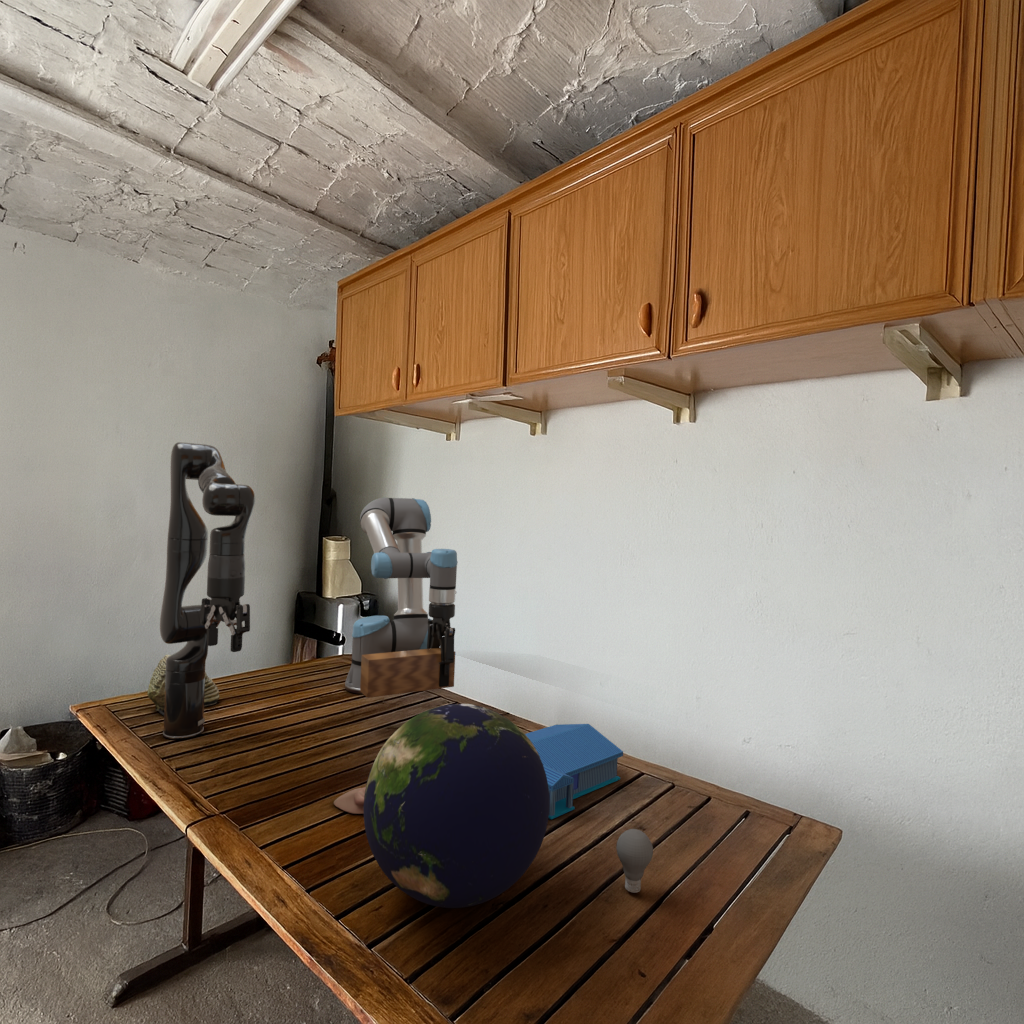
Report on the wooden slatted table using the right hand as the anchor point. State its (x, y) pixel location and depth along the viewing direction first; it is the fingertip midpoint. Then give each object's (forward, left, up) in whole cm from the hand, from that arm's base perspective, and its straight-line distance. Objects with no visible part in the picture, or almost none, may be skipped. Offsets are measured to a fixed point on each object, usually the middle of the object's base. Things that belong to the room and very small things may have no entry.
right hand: (438, 682), depth 182 cm
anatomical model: (+51, -4, -11) cm, 52 cm away
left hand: (+46, -40, +18) cm, 63 cm away
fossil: (+3, -75, -11) cm, 75 cm away
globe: (+78, +18, -11) cm, 81 cm away
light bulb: (+73, +48, -11) cm, 88 cm away
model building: (+38, +30, -11) cm, 50 cm away
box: (+5, -8, -1) cm, 9 cm away
